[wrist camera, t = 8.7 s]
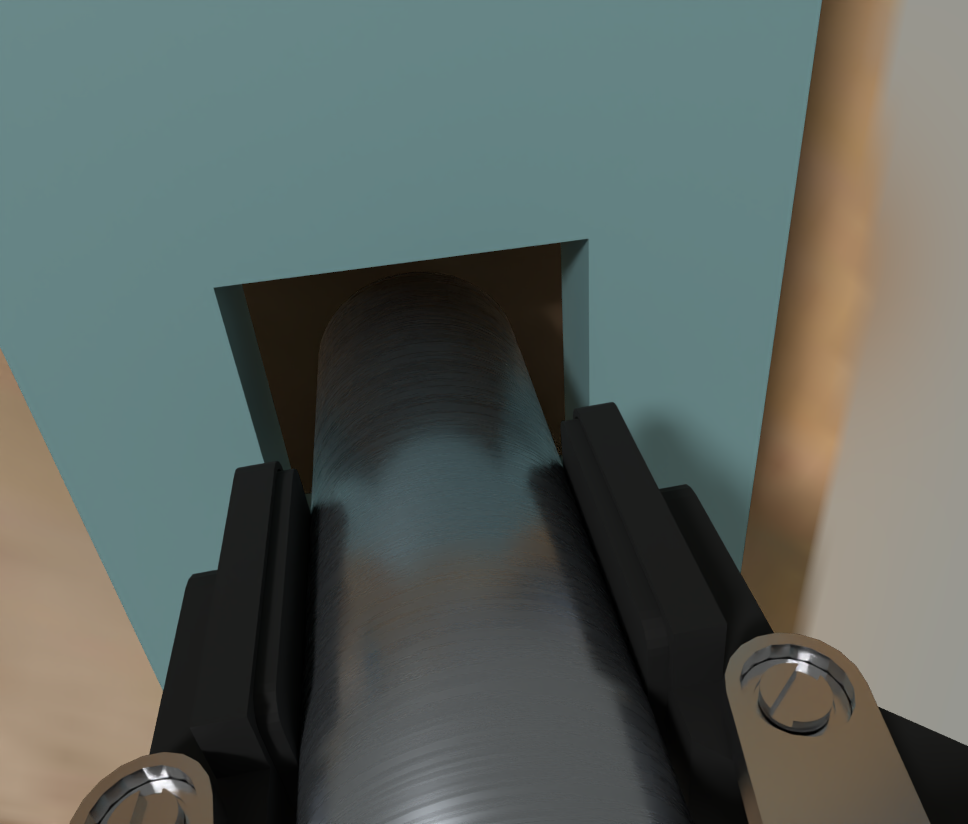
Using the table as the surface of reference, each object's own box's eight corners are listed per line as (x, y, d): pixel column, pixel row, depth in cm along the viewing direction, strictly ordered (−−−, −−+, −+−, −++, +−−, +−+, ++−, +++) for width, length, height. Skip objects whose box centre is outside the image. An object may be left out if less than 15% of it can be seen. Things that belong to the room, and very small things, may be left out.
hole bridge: (652, 596, 24) (716, 743, 20) (249, 663, 23) (230, 832, 19) (713, -439, 12) (906, -599, 8) (-135, -383, 11) (-416, -532, 7)
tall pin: (550, 383, 15) (920, 1303, 6) (392, 473, 16) (473, 1441, 6) (451, 232, 13) (750, 1240, 4) (275, 342, 14) (122, 1447, 4)
